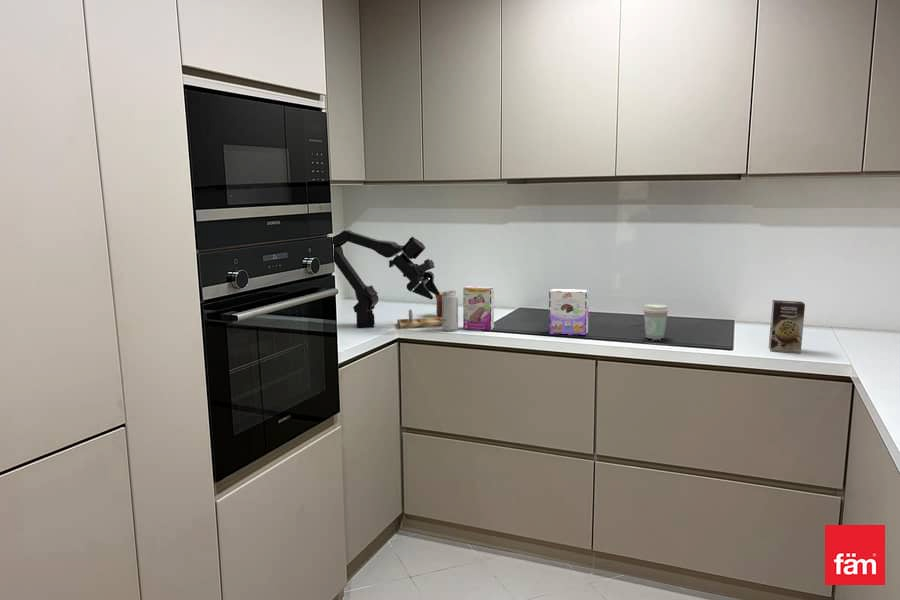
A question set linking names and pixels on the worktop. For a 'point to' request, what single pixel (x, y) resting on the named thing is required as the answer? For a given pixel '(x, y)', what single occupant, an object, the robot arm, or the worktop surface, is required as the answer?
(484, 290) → the candy bar box
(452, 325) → the energy drink can
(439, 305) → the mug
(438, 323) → the rack
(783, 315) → the brown cookie box
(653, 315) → the coffee cup
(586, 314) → the candy box
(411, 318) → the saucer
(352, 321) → the worktop surface
